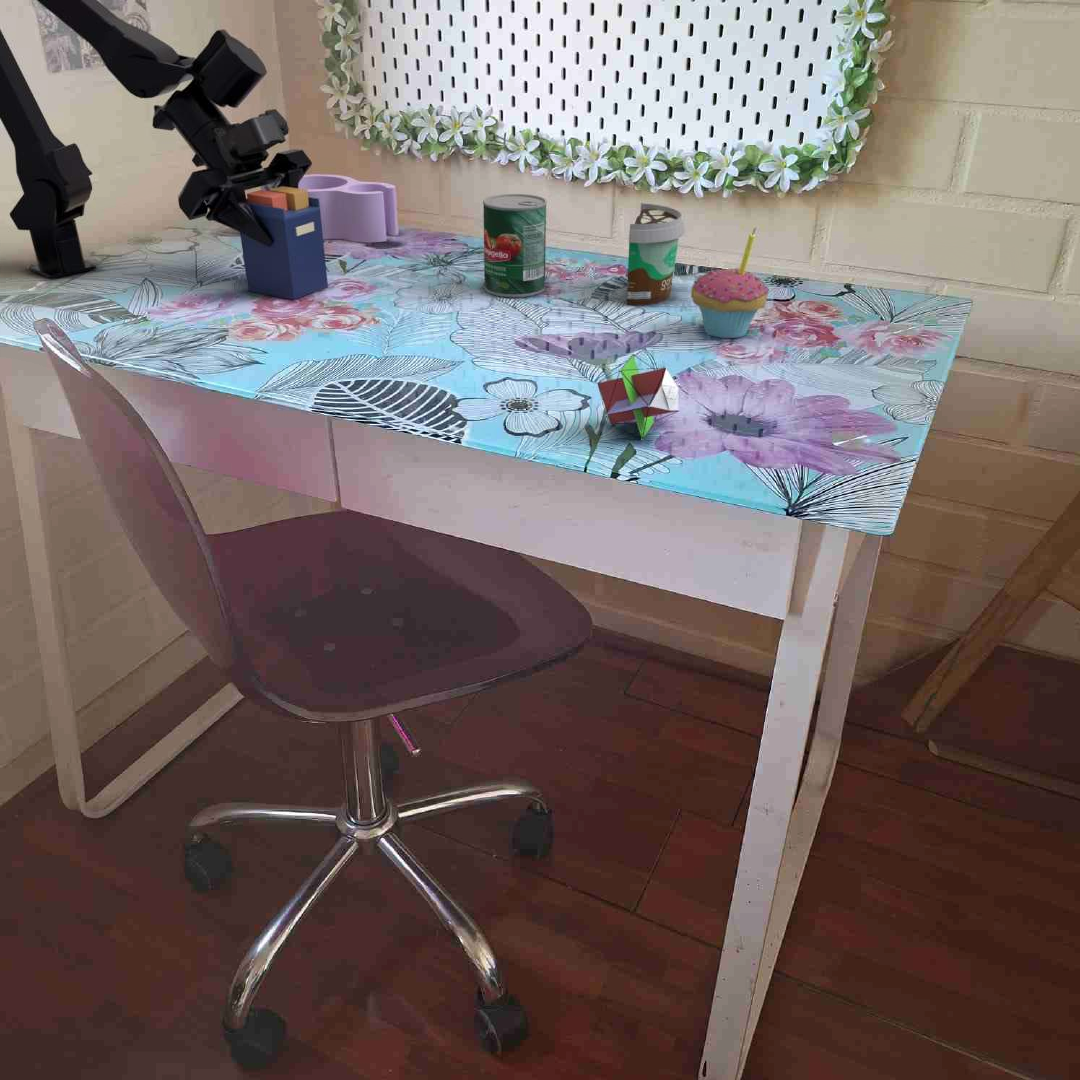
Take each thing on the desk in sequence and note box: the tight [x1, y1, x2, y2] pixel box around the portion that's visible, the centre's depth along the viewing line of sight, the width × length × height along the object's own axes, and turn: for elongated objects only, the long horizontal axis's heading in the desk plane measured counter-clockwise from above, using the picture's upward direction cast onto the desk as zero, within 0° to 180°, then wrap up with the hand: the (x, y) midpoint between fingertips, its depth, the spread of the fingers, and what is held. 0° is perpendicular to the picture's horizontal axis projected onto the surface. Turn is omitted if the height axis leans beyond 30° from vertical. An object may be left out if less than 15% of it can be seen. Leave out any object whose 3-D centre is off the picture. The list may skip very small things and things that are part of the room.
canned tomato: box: [482, 193, 548, 298], centre depth 124 cm, size 8×8×11 cm
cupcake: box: [690, 227, 770, 339], centre depth 111 cm, size 9×8×12 cm
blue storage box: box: [239, 197, 329, 301], centre depth 123 cm, size 8×7×11 cm
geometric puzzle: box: [596, 353, 680, 441], centre depth 89 cm, size 7×7×8 cm
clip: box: [260, 173, 399, 244], centre depth 150 cm, size 20×12×7 cm, turn 69°
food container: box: [625, 202, 686, 306], centre depth 123 cm, size 12×6×10 cm, turn 168°
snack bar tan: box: [269, 186, 309, 210], centre depth 121 cm, size 4×2×2 cm, turn 61°
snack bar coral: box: [246, 189, 288, 211], centre depth 119 cm, size 4×2×2 cm, turn 61°
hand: (290, 238), depth 122 cm, fingers closed on blue storage box, 6 cm apart
